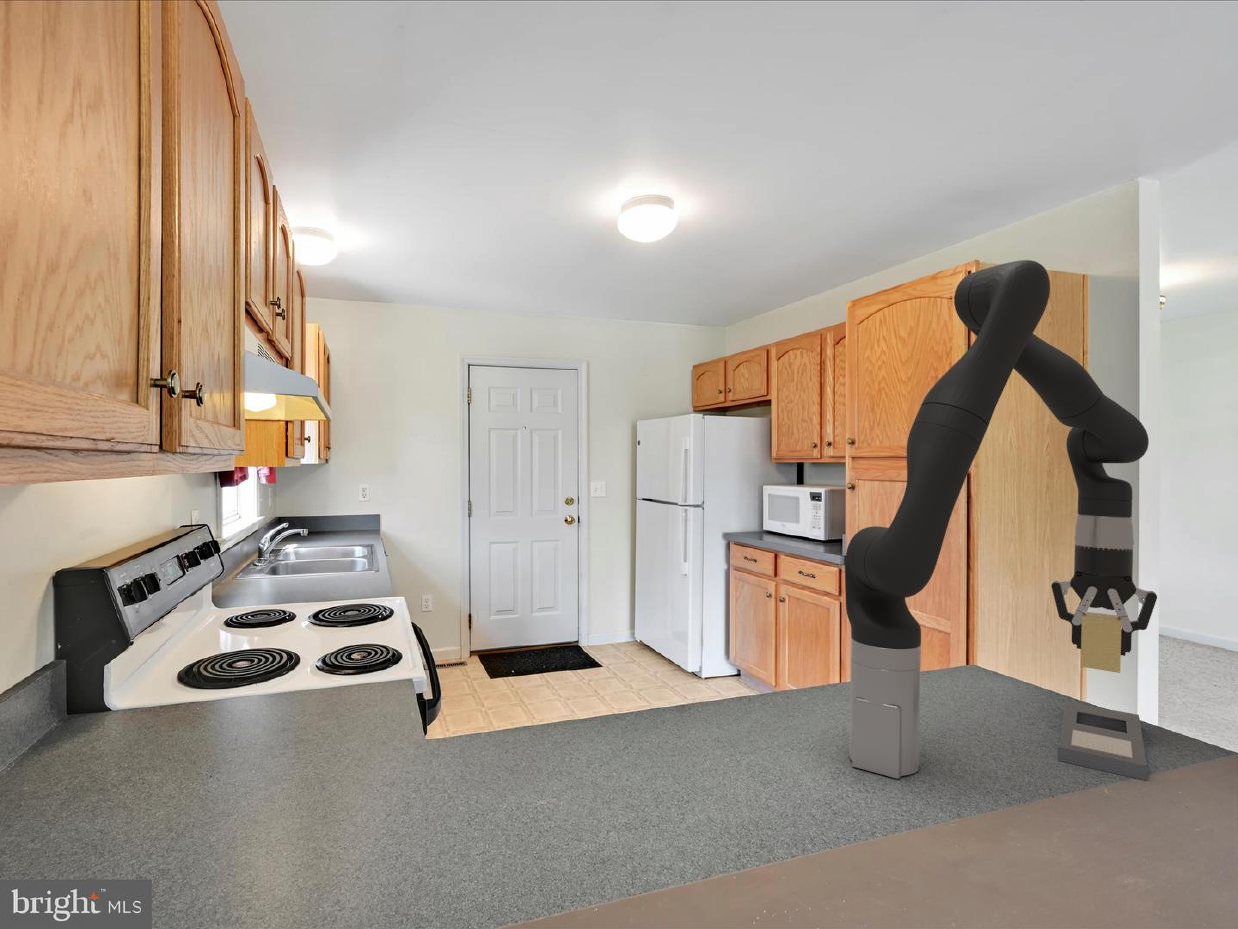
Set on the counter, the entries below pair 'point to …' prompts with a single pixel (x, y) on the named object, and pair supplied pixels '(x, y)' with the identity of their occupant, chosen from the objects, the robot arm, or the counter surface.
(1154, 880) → the counter surface
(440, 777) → the counter surface
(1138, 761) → the grey slotted holder
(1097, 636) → the yellow wooden block
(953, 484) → the robot arm
